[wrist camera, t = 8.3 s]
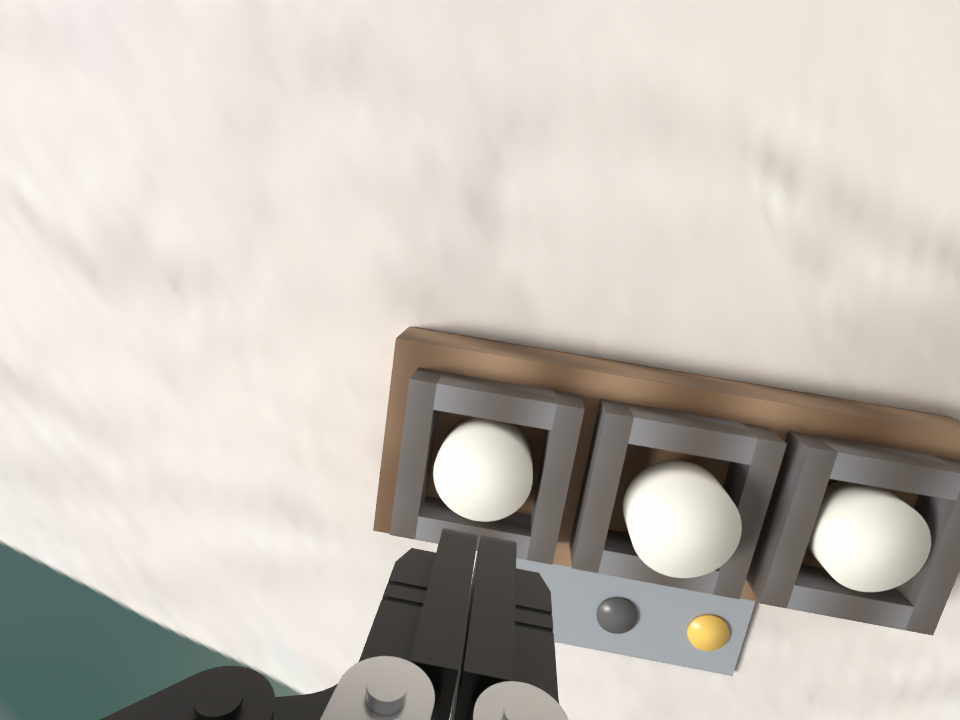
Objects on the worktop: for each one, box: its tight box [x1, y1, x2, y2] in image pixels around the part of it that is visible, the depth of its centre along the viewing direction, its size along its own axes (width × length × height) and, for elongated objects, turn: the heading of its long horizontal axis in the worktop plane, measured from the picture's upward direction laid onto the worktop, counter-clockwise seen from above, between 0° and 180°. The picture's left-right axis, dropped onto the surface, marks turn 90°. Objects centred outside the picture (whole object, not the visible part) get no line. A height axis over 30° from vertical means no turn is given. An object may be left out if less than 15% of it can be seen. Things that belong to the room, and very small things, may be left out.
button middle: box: [623, 460, 742, 578], centre depth 24 cm, size 4×4×2 cm
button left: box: [433, 416, 533, 522], centre depth 26 cm, size 4×4×2 cm
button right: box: [807, 481, 931, 592], centre depth 25 cm, size 4×4×2 cm
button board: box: [373, 327, 960, 635], centre depth 28 cm, size 27×10×5 cm, turn 81°
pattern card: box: [516, 558, 756, 676], centre depth 32 cm, size 14×5×1 cm, turn 81°
